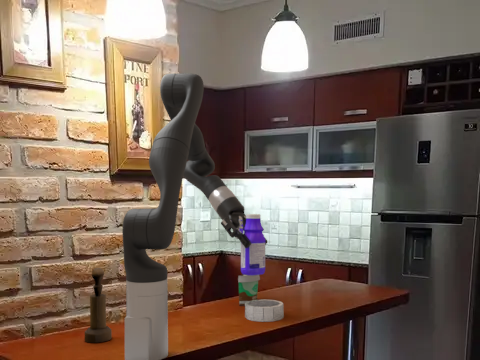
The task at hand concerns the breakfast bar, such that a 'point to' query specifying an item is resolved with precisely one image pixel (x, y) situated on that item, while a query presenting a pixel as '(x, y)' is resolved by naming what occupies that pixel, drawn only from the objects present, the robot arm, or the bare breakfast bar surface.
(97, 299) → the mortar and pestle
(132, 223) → the robot arm
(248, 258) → the bottle
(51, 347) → the breakfast bar surface
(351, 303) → the breakfast bar surface
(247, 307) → the ring holder
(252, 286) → the food container
